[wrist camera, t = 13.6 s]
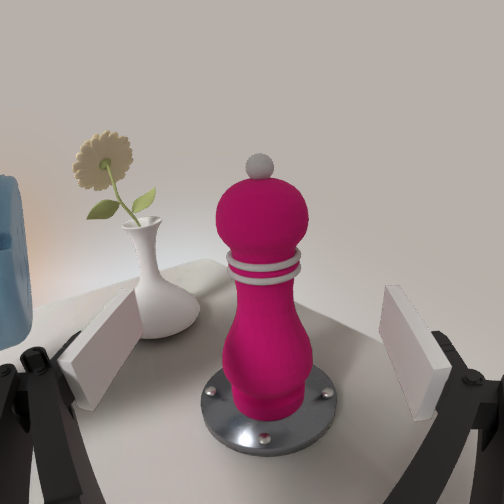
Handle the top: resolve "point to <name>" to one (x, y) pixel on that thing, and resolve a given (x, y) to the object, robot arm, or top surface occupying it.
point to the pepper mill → (264, 293)
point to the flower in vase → (135, 236)
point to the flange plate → (269, 432)
